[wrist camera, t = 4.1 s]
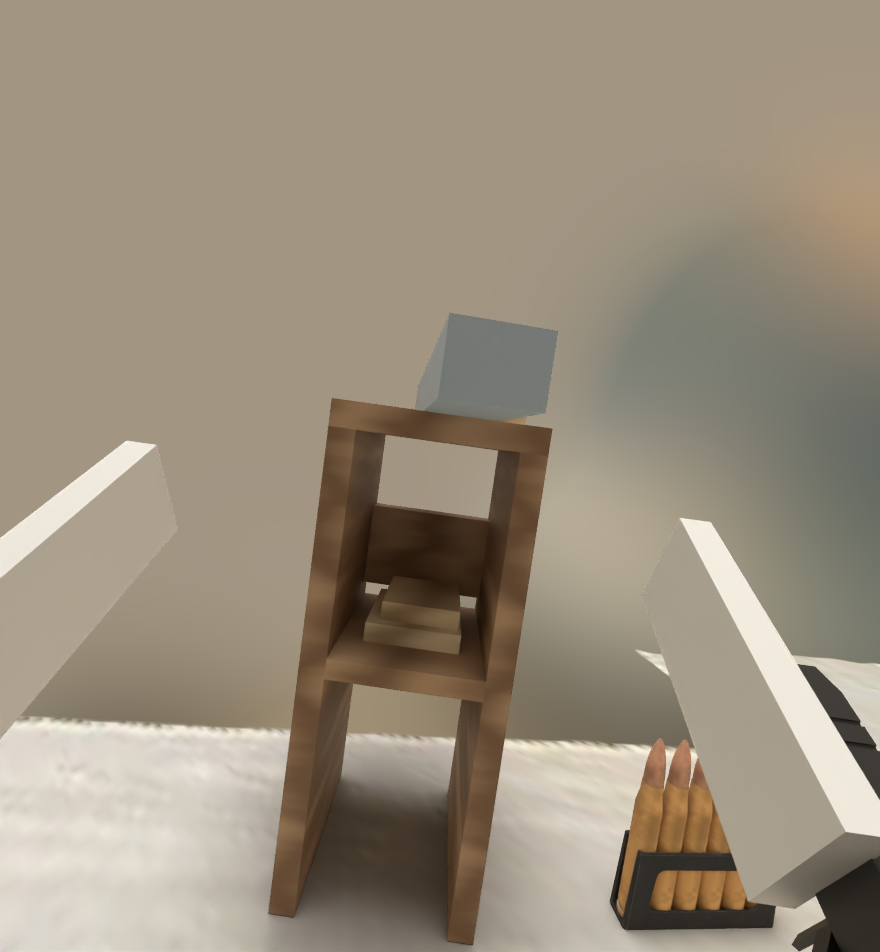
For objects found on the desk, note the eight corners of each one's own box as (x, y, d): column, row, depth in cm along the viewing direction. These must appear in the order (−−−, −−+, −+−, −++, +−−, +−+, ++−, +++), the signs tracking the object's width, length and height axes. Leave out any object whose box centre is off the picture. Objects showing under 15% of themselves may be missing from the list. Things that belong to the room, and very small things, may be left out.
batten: (438, 397, 17) (449, 312, 17) (413, 420, 41) (418, 385, 41) (545, 413, 18) (557, 331, 17) (459, 427, 41) (464, 392, 41)
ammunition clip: (623, 930, 30) (655, 747, 29) (608, 901, 32) (638, 729, 31) (773, 928, 32) (808, 754, 31) (751, 900, 33) (783, 736, 33)
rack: (268, 913, 28) (337, 353, 26) (323, 772, 40) (373, 382, 38) (472, 944, 28) (559, 384, 26) (466, 794, 40) (524, 403, 38)
